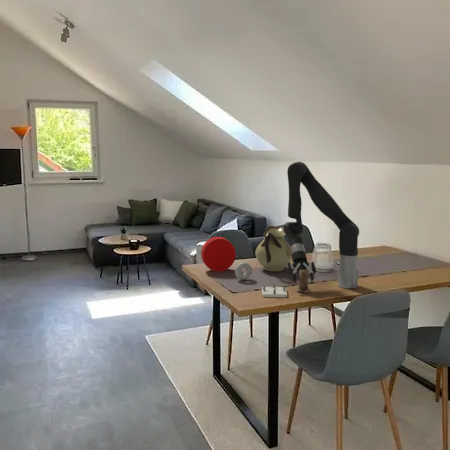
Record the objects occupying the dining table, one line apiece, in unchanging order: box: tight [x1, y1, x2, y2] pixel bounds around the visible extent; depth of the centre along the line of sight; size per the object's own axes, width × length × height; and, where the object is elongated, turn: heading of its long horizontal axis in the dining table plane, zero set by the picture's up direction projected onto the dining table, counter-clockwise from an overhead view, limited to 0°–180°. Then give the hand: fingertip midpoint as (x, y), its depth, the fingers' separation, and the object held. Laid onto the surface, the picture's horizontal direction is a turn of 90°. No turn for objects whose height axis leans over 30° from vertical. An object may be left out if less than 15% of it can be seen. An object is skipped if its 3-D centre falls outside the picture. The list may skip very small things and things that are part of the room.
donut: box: [234, 262, 253, 281], centre depth 259 cm, size 10×4×10 cm, turn 113°
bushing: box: [296, 269, 311, 294], centre depth 237 cm, size 7×7×11 cm
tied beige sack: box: [254, 225, 292, 272], centre depth 281 cm, size 22×24×25 cm
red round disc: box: [200, 236, 237, 273], centre depth 279 cm, size 20×6×20 cm, turn 103°
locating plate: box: [261, 283, 288, 298], centre depth 235 cm, size 12×12×4 cm
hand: (303, 281), depth 237 cm, fingers open, 8 cm apart
